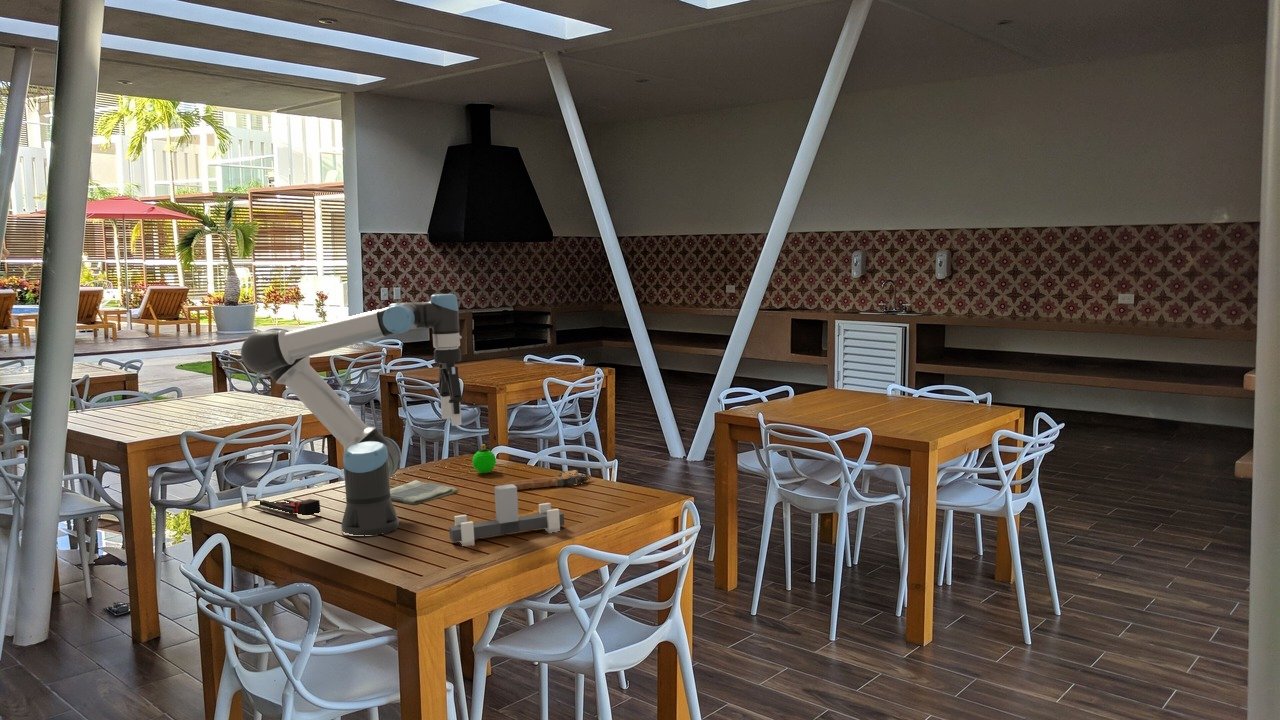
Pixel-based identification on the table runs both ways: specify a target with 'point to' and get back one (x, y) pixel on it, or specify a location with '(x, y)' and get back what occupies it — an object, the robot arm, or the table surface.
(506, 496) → the bar
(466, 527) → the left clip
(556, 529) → the right clip
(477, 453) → the ornament
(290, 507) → the toy
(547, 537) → the table surface
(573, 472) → the decorative handgun
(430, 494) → the dish towel
